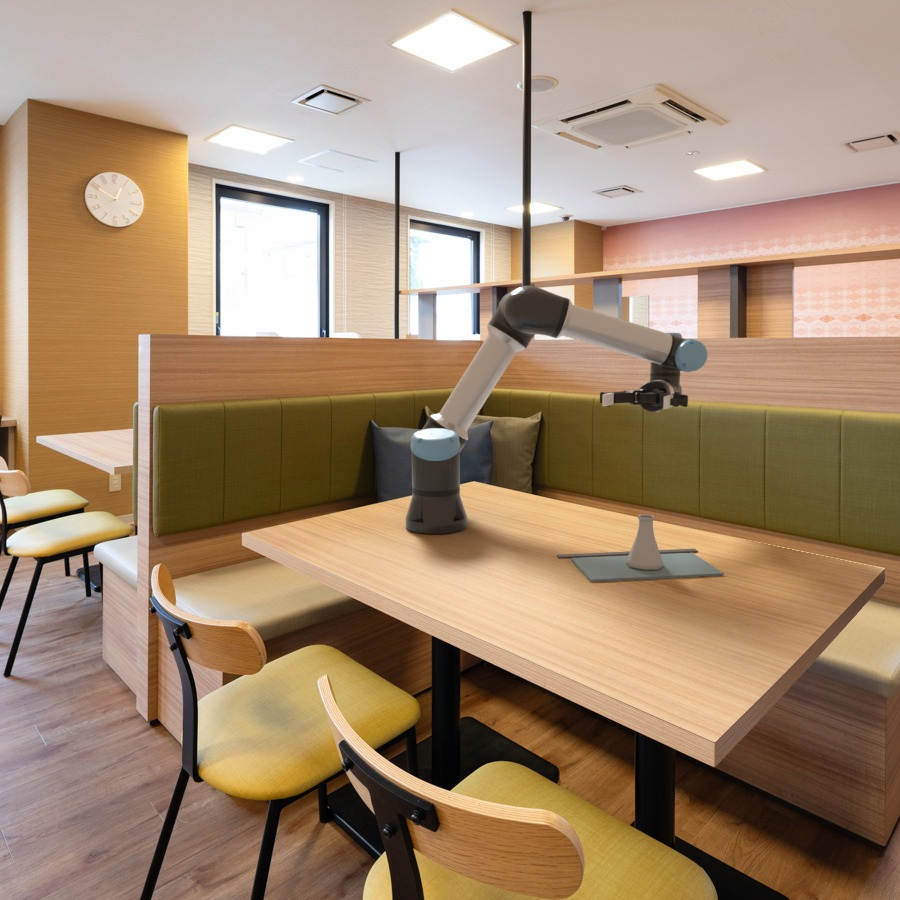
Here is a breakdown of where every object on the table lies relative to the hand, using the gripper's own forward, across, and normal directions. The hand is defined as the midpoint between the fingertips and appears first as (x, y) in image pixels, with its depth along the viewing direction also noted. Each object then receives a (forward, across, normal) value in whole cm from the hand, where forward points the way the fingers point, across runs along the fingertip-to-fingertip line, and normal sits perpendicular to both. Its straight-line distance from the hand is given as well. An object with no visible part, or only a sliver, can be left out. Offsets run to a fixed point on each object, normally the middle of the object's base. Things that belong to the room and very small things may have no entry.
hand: (633, 401), depth 150 cm
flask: (+20, -9, -31) cm, 38 cm away
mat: (+20, -9, -31) cm, 38 cm away
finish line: (+13, -3, -31) cm, 34 cm away
